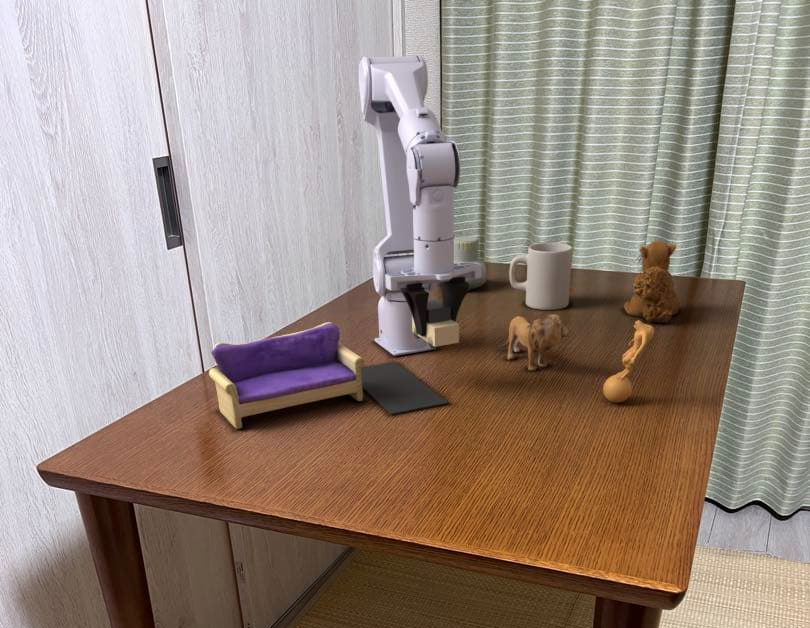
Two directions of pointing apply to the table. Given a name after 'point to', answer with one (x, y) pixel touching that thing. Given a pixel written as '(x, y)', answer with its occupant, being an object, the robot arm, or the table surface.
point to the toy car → (439, 325)
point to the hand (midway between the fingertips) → (434, 332)
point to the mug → (545, 275)
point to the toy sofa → (284, 372)
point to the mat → (398, 389)
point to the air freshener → (469, 257)
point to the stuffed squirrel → (654, 285)
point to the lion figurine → (535, 337)
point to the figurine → (627, 365)
